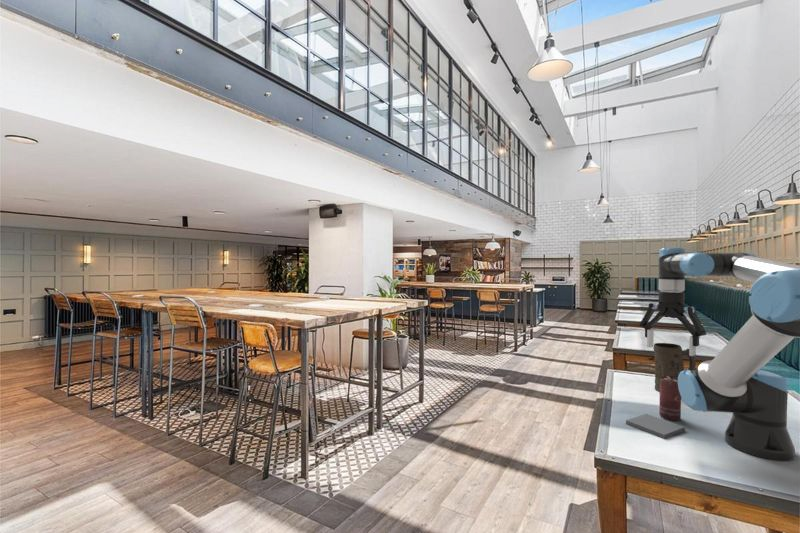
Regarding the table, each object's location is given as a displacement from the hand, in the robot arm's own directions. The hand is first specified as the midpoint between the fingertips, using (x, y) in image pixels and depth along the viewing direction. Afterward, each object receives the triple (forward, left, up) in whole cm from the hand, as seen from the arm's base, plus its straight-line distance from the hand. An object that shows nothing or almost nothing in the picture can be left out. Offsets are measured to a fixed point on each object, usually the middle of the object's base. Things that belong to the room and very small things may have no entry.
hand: (670, 351), depth 132 cm
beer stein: (+14, -31, -24) cm, 42 cm away
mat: (-2, +13, -24) cm, 27 cm away
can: (0, 0, -24) cm, 24 cm away
